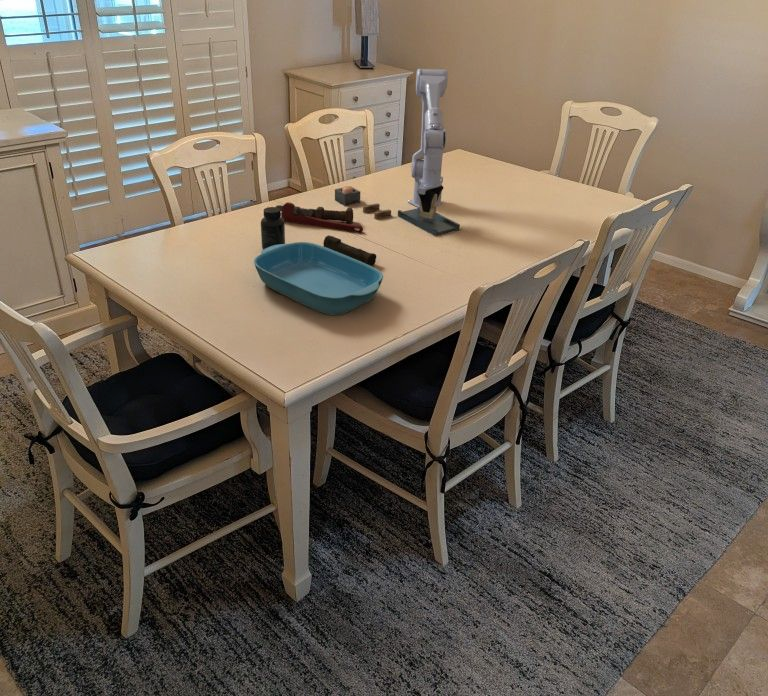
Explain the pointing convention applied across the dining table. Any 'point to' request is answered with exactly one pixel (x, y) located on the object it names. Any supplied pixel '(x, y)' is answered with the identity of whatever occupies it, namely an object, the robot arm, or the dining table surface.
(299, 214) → the pipe wrench
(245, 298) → the dining table surface
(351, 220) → the bolt
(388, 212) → the socket
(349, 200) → the button housing
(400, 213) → the tray
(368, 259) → the hand tool
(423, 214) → the peg
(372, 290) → the casserole dish
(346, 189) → the release button
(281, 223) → the supplement bottle
